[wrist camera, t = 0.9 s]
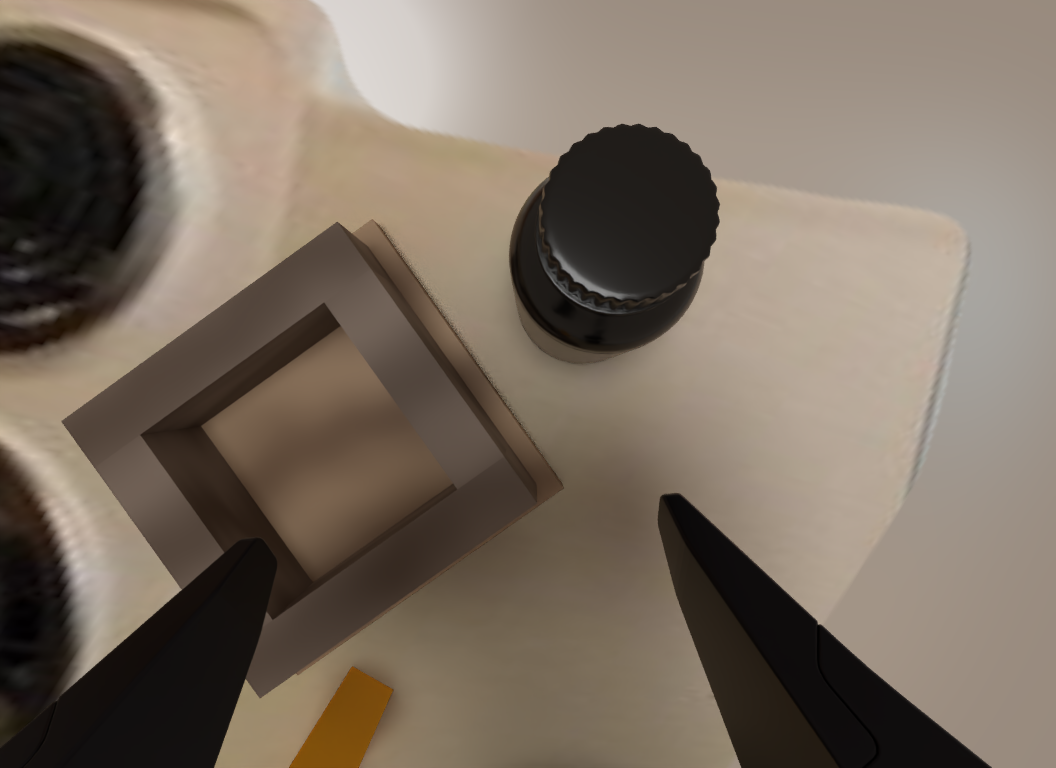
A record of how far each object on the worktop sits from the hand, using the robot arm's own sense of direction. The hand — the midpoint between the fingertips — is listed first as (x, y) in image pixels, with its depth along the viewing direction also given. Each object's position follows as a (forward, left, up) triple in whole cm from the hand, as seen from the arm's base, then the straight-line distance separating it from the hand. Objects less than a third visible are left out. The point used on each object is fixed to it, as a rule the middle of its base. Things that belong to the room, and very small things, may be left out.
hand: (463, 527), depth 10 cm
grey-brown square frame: (+5, +7, -14) cm, 16 cm away
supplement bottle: (+4, -8, -14) cm, 16 cm away
